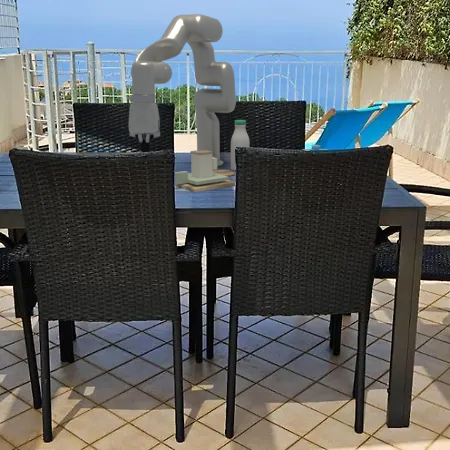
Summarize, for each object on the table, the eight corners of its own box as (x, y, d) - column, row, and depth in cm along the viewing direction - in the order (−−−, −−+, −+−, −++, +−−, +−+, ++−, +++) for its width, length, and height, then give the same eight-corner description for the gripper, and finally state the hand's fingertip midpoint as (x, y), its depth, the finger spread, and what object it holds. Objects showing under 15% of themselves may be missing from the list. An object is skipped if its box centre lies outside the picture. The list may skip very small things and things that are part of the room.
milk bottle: (247, 171, 246) (248, 121, 240) (229, 171, 247) (228, 121, 242) (251, 168, 253) (251, 119, 247) (232, 167, 254) (232, 119, 249)
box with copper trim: (190, 175, 223) (190, 151, 221) (209, 173, 228) (209, 148, 225) (199, 178, 219) (199, 153, 216) (218, 175, 223) (218, 150, 221)
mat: (197, 173, 243) (197, 171, 243) (222, 169, 250) (222, 168, 250) (215, 178, 234) (215, 176, 233) (240, 174, 240) (240, 173, 240)
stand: (168, 183, 225) (167, 179, 225) (208, 177, 235) (208, 173, 235) (194, 192, 211) (194, 187, 211) (236, 185, 221) (236, 181, 221)
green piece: (156, 182, 220) (155, 169, 219) (207, 174, 232) (207, 162, 231) (176, 189, 209) (176, 175, 208) (229, 180, 221) (228, 168, 220)
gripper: (119, 100, 206) (121, 154, 211) (162, 100, 204) (163, 155, 209) (126, 98, 213) (128, 151, 218) (168, 99, 211) (169, 152, 216)
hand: (145, 153), depth 213 cm, fingers closed
